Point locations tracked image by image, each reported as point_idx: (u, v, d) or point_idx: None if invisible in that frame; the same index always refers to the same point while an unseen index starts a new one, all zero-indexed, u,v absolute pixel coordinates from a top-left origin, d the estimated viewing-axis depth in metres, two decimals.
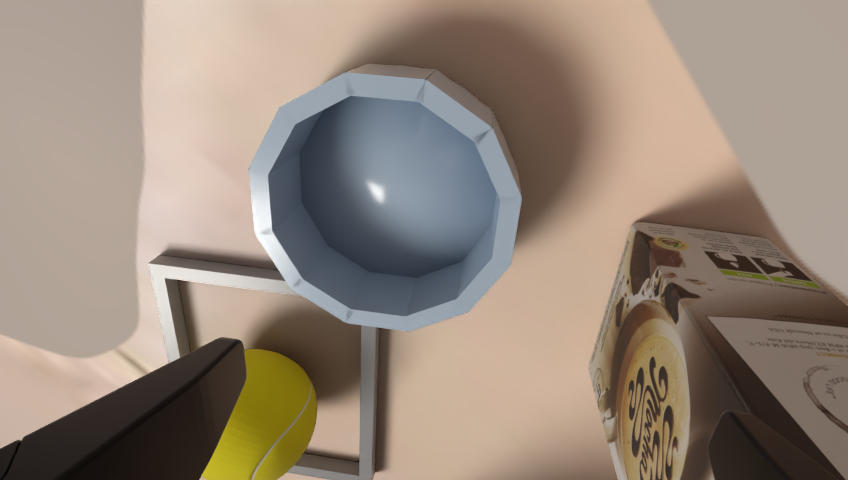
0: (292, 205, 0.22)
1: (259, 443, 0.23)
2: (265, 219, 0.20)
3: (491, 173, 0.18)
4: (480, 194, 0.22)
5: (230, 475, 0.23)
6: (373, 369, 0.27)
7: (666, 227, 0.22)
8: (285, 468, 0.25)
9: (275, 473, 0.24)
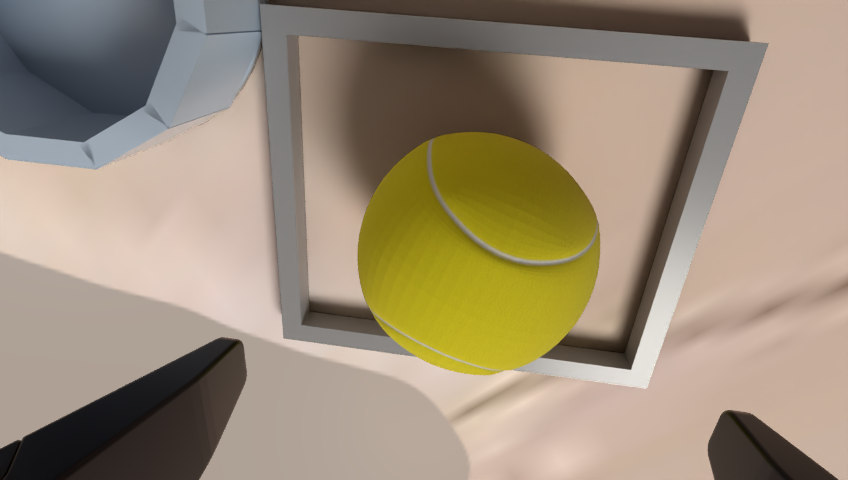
0: None
1: (422, 226, 0.11)
2: (69, 148, 0.14)
3: None
4: None
5: (483, 295, 0.11)
6: (423, 18, 0.14)
7: None
8: (527, 192, 0.11)
9: (523, 212, 0.11)
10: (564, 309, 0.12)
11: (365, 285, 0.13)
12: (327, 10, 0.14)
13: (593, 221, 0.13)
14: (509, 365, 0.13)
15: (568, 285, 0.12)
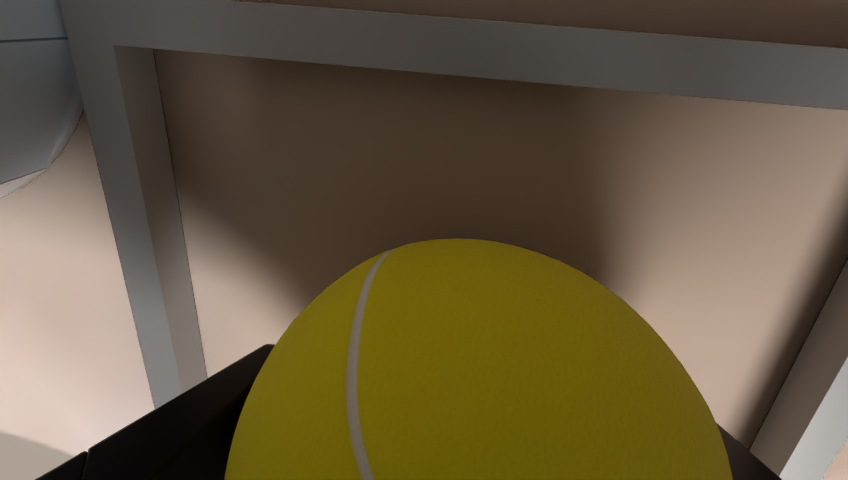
0: None
1: None
2: None
3: None
4: None
5: None
6: (365, 15, 0.07)
7: None
8: (592, 465, 0.04)
9: None
10: None
11: None
12: None
13: (729, 473, 0.06)
14: None
15: None
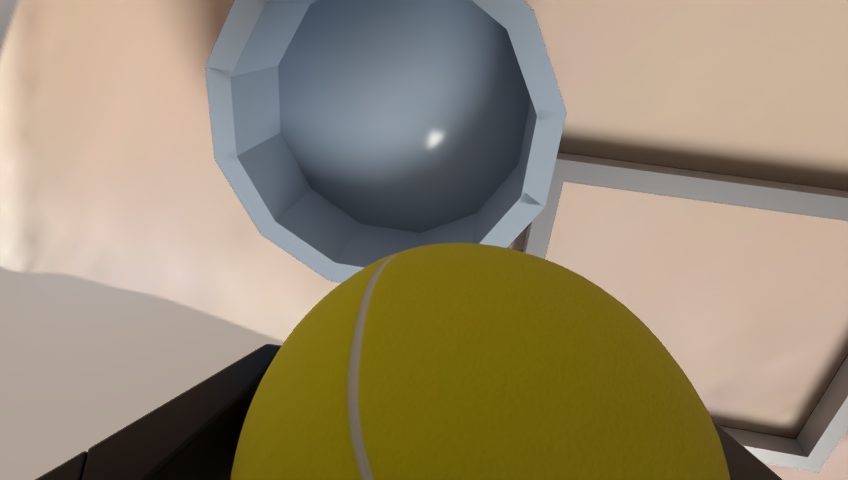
0: (407, 244, 0.19)
1: None
2: None
3: None
4: None
5: None
6: (690, 178, 0.17)
7: None
8: (587, 469, 0.04)
9: None
10: None
11: None
12: (606, 166, 0.17)
13: (726, 478, 0.06)
14: None
15: None
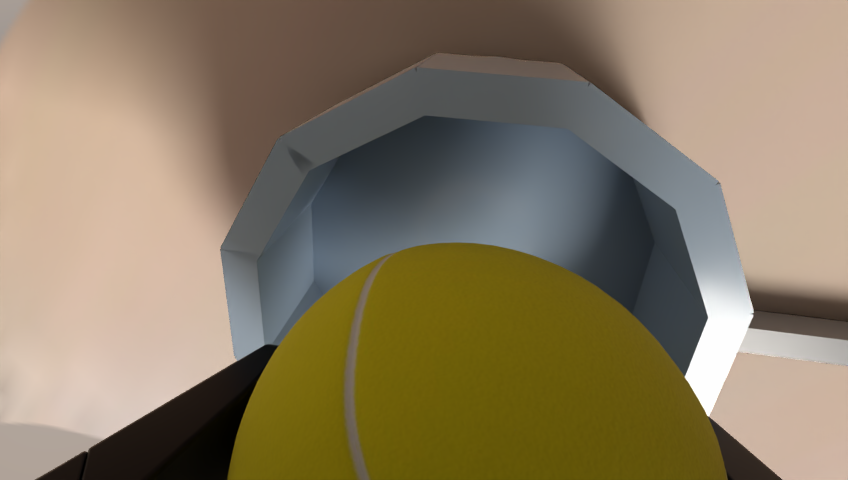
0: None
1: None
2: None
3: (366, 136, 0.09)
4: (483, 122, 0.12)
5: None
6: None
7: None
8: (584, 468, 0.04)
9: None
10: None
11: None
12: (756, 330, 0.13)
13: (723, 477, 0.06)
14: None
15: None
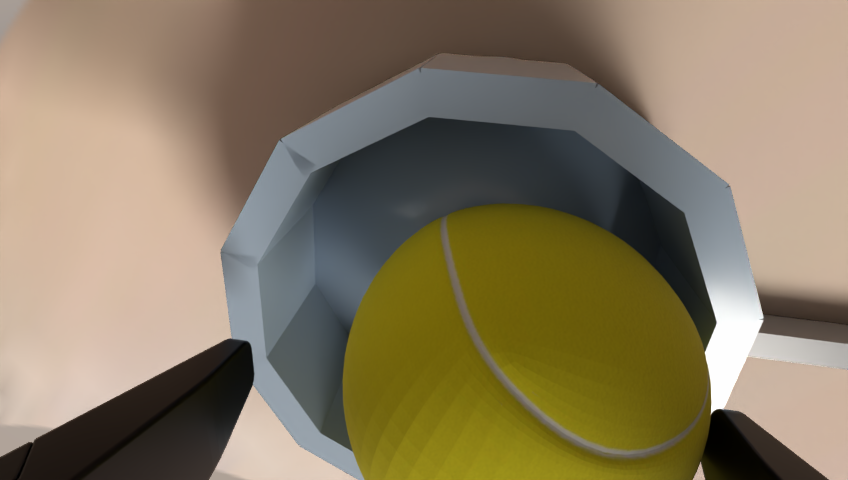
0: None
1: (468, 415, 0.07)
2: None
3: (369, 138, 0.09)
4: (487, 123, 0.12)
5: None
6: None
7: None
8: (628, 334, 0.07)
9: (632, 372, 0.07)
10: None
11: (367, 475, 0.08)
12: (764, 334, 0.13)
13: (700, 338, 0.08)
14: None
15: (694, 462, 0.07)
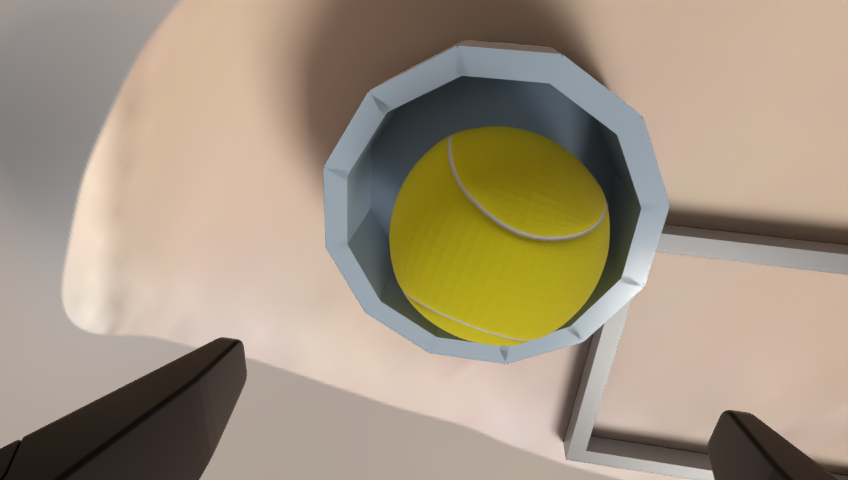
0: None
1: (448, 213, 0.13)
2: (489, 349, 0.18)
3: (424, 89, 0.14)
4: (495, 88, 0.17)
5: (506, 270, 0.13)
6: (769, 247, 0.18)
7: None
8: (539, 176, 0.13)
9: (538, 194, 0.13)
10: (580, 279, 0.13)
11: (399, 270, 0.15)
12: (688, 237, 0.18)
13: (601, 199, 0.14)
14: (533, 334, 0.14)
15: (582, 257, 0.13)
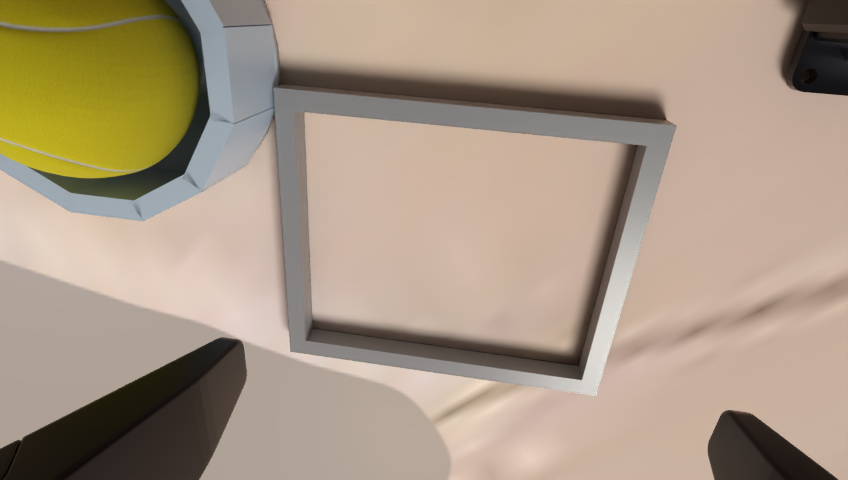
0: (164, 180, 0.20)
1: None
2: (122, 205, 0.18)
3: None
4: None
5: None
6: (404, 101, 0.18)
7: None
8: None
9: None
10: (79, 79, 0.13)
11: None
12: (327, 93, 0.18)
13: (127, 9, 0.14)
14: (63, 147, 0.14)
15: (72, 54, 0.13)
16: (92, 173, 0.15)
